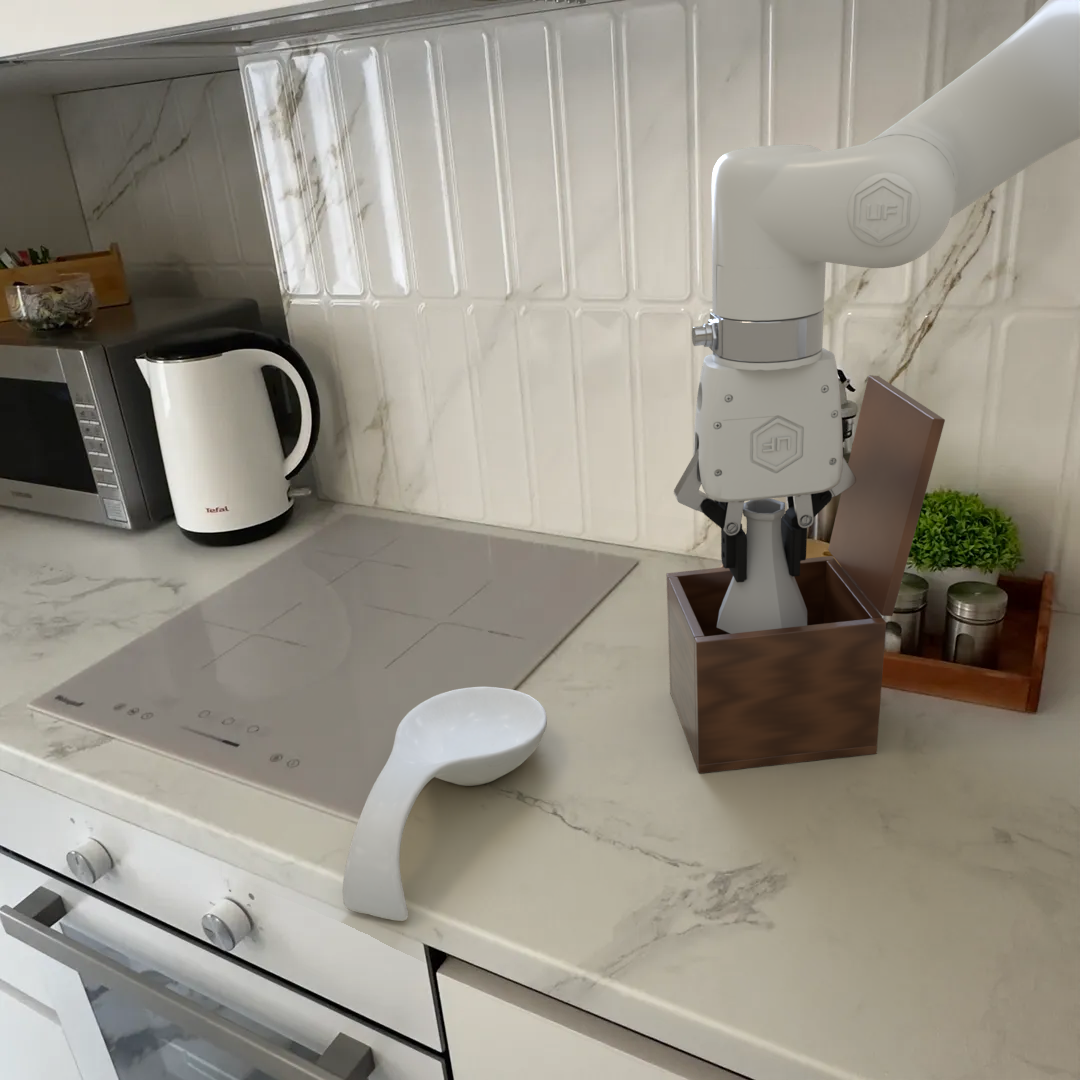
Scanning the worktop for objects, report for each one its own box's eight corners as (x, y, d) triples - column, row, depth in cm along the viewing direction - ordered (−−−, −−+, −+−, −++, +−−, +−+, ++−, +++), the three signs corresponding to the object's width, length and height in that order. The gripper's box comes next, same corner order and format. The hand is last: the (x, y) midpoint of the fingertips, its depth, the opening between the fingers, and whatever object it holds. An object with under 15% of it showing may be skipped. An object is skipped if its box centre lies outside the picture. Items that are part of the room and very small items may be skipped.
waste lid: (933, 418, 65) (945, 419, 65) (868, 374, 76) (878, 375, 76) (881, 616, 71) (892, 616, 71) (827, 550, 82) (837, 550, 82)
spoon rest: (441, 710, 87) (431, 640, 84) (568, 726, 83) (561, 654, 80) (301, 906, 66) (281, 823, 64) (460, 939, 63) (446, 853, 60)
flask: (821, 610, 78) (827, 495, 74) (790, 653, 73) (794, 531, 69) (736, 593, 82) (737, 483, 78) (701, 633, 77) (699, 516, 72)
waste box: (698, 773, 76) (696, 642, 71) (669, 691, 86) (666, 572, 82) (876, 753, 76) (886, 622, 71) (826, 674, 87) (832, 555, 82)
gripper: (659, 360, 64) (666, 605, 72) (905, 337, 65) (887, 582, 72) (640, 336, 71) (649, 562, 79) (863, 314, 72) (850, 541, 79)
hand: (763, 569), depth 76 cm, fingers closed on flask, 3 cm apart
